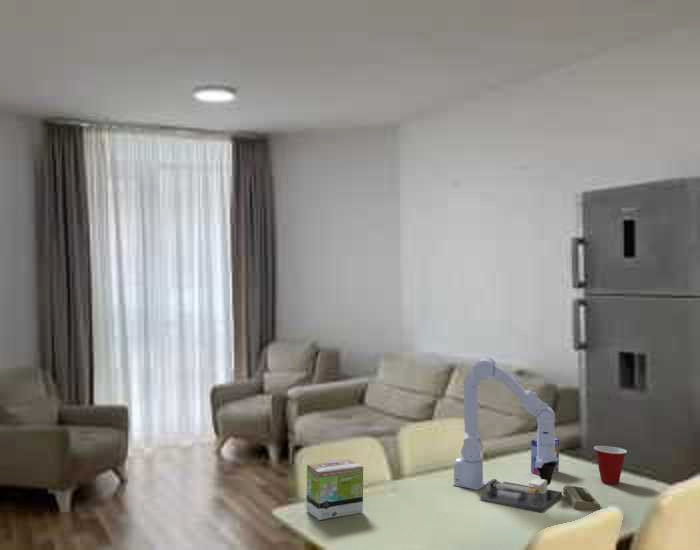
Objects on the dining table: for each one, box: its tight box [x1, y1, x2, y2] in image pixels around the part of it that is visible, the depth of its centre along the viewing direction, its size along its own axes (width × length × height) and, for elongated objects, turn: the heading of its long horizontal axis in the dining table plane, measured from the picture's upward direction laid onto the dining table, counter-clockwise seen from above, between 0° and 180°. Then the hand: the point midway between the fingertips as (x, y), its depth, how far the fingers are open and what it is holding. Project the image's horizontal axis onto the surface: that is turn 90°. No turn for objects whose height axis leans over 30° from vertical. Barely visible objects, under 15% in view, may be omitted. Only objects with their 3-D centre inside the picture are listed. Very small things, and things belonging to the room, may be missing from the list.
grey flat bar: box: [492, 480, 539, 494], centre depth 230 cm, size 15×4×1 cm, turn 54°
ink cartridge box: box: [530, 437, 560, 476], centre depth 259 cm, size 10×6×14 cm, turn 125°
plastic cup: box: [593, 445, 628, 486], centre depth 247 cm, size 11×11×12 cm
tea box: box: [305, 458, 364, 521], centre depth 219 cm, size 15×10×15 cm, turn 117°
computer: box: [562, 485, 601, 511], centre depth 228 cm, size 16×8×3 cm, turn 176°
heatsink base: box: [480, 478, 563, 513], centre depth 231 cm, size 20×19×4 cm
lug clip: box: [528, 477, 548, 494], centre depth 232 cm, size 4×6×4 cm, turn 144°
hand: (546, 484), depth 238 cm, fingers closed
